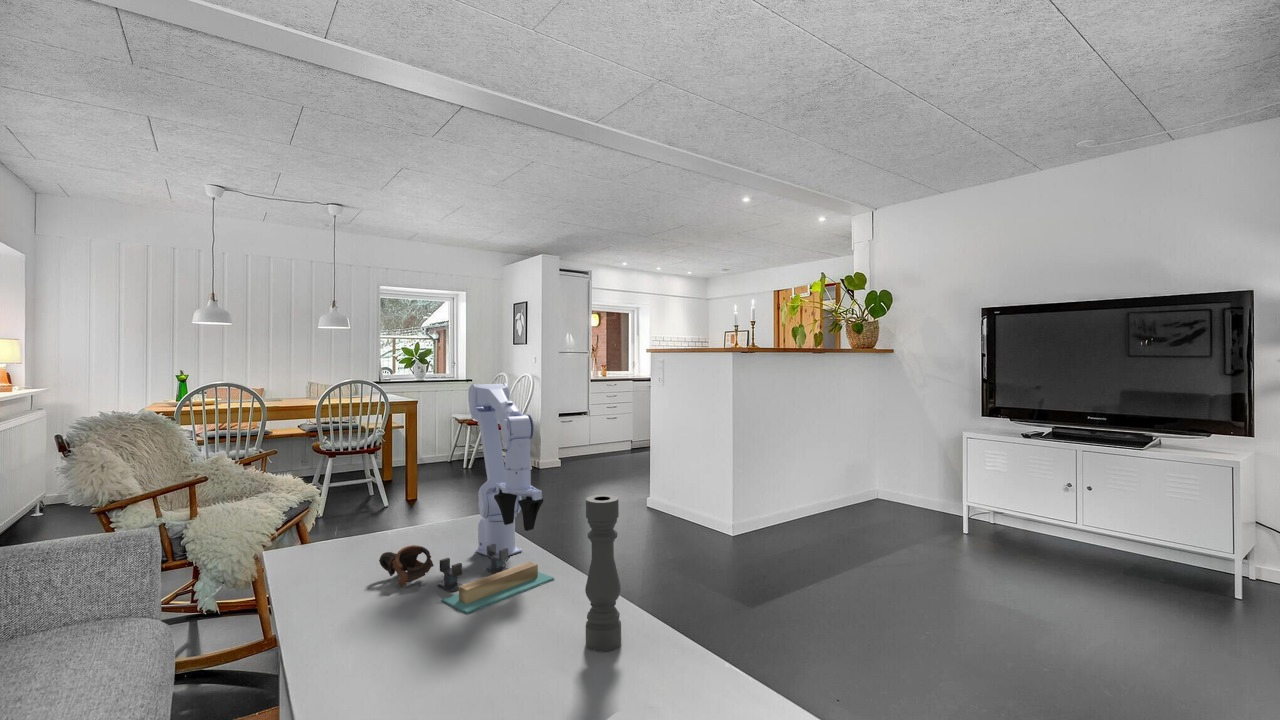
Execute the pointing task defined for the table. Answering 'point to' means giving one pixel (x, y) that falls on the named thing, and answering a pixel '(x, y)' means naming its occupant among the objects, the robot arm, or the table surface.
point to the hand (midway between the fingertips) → (518, 526)
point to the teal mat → (496, 595)
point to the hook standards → (456, 570)
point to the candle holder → (602, 575)
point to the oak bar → (497, 582)
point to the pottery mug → (406, 563)
